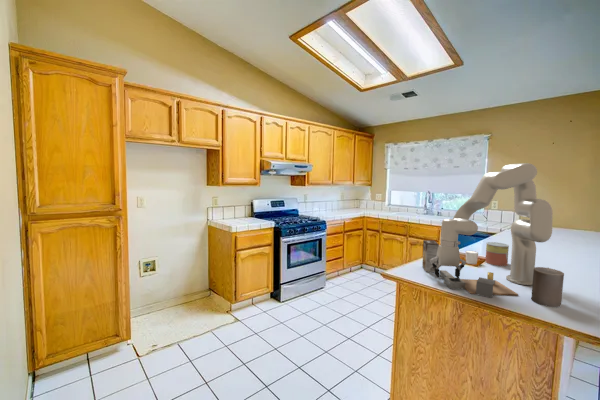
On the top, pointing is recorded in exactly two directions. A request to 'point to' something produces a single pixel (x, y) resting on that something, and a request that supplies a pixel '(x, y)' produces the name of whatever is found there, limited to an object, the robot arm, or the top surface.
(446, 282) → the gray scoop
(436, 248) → the coffee box
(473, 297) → the top surface
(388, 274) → the top surface
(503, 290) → the board
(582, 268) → the top surface
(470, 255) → the white cup
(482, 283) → the block
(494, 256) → the canned food
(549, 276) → the pillar candle
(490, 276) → the pintle
